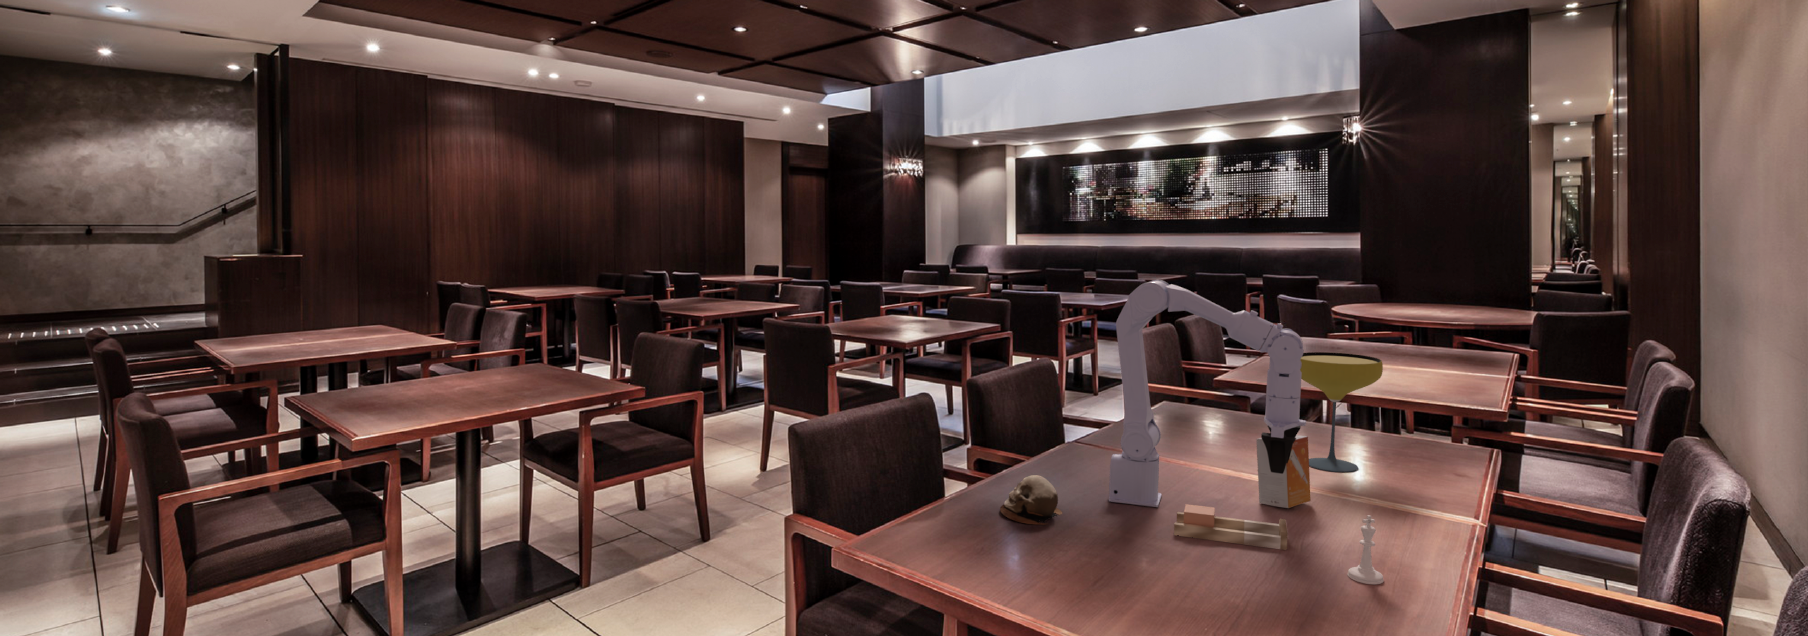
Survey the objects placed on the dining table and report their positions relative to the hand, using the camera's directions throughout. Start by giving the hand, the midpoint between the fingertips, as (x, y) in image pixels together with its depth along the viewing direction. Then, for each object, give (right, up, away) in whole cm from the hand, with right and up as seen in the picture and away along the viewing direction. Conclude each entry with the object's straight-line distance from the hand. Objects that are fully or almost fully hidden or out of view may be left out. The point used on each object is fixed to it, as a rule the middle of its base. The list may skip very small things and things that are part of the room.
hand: (1279, 467), depth 152 cm
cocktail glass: (+28, -6, +35) cm, 46 cm away
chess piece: (+2, -13, -25) cm, 28 cm away
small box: (+5, -9, +9) cm, 14 cm away
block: (-17, -11, -5) cm, 21 cm away
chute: (-13, -11, -7) cm, 18 cm away
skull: (-45, -10, +5) cm, 47 cm away
